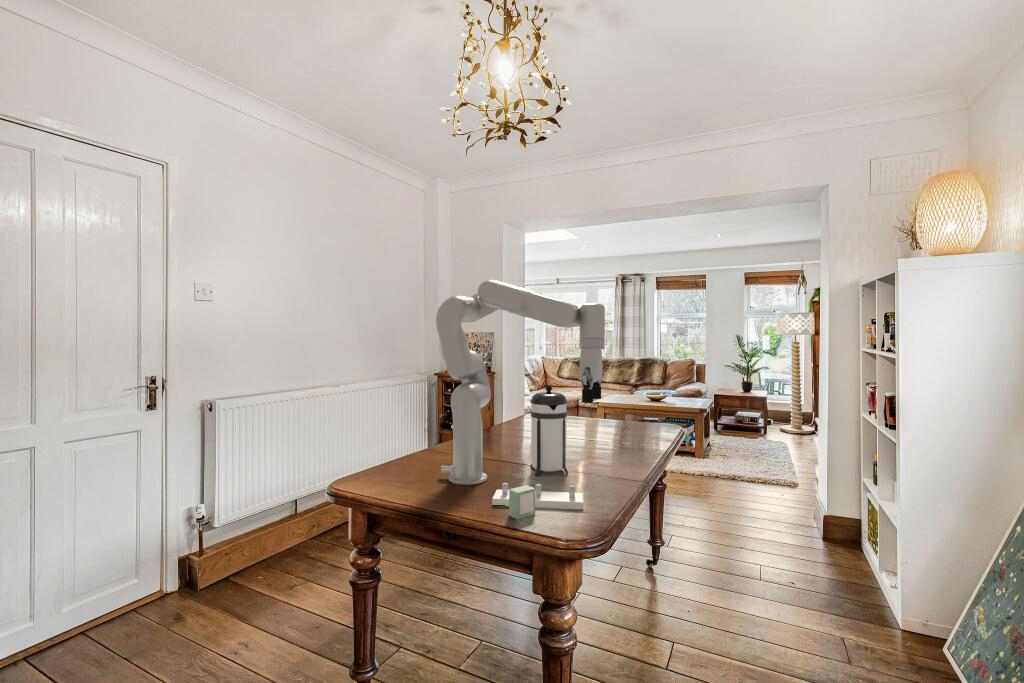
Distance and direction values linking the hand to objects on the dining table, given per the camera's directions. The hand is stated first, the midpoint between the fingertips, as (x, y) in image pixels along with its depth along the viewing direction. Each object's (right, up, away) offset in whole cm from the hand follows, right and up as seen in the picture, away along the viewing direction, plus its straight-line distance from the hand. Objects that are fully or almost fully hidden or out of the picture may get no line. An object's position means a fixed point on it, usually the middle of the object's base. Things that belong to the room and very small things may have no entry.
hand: (591, 400), depth 151 cm
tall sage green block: (-21, -28, -19) cm, 40 cm away
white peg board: (-17, -28, -10) cm, 34 cm away
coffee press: (-12, -27, +23) cm, 38 cm away
